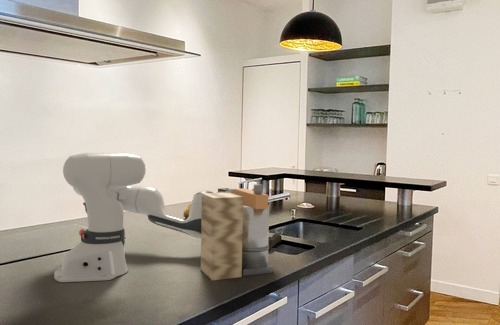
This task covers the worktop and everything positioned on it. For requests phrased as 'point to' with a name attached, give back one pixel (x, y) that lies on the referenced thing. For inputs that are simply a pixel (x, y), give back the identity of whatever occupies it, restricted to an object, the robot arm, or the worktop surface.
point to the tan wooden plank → (253, 197)
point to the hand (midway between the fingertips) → (243, 190)
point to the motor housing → (255, 241)
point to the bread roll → (187, 211)
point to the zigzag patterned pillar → (221, 235)
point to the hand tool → (274, 240)
